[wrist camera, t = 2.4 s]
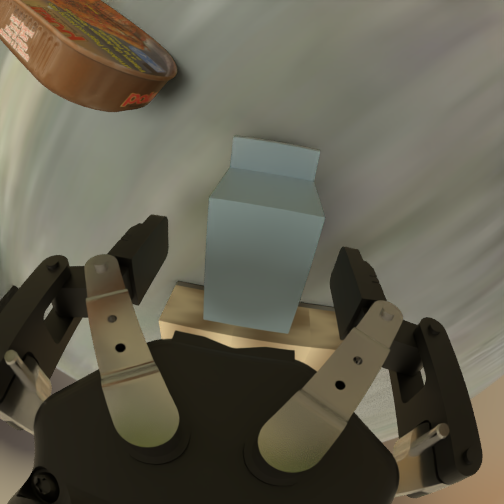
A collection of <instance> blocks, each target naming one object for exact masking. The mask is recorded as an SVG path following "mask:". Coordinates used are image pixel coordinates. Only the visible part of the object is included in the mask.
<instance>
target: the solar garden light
mask: <svg viewBox="0 0 504 504" xmlns="http://www.w3.org/2000/svg"><path fill="white" fill-rule="evenodd" d="M17 291H18V288H17V287H15V286H13V287H12V288H11V289H10V290H9V291H8V292H7V293H6V295H5V296H4V297H3V298H2V299H1V300H0V313H1V312H2V310H3V309H4V307H5V306H6V305H7V303H8V302H9V301H10V300H11V298H12V297H13V296H14V294H15V293H16V292H17Z"/></svg>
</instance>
